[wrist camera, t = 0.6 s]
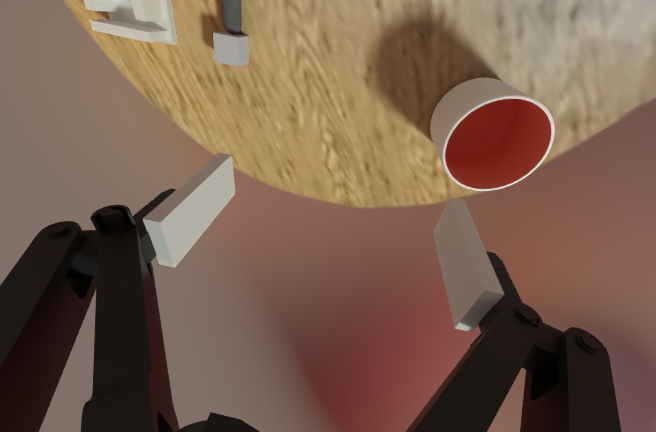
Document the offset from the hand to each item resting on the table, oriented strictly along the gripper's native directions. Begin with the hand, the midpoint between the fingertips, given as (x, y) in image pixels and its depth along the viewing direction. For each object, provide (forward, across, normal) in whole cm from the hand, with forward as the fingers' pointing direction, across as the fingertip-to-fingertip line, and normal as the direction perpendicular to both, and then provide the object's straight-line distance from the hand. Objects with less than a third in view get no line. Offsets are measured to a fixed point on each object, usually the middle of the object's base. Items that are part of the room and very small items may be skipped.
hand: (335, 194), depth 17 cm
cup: (+24, +14, 0) cm, 28 cm away
